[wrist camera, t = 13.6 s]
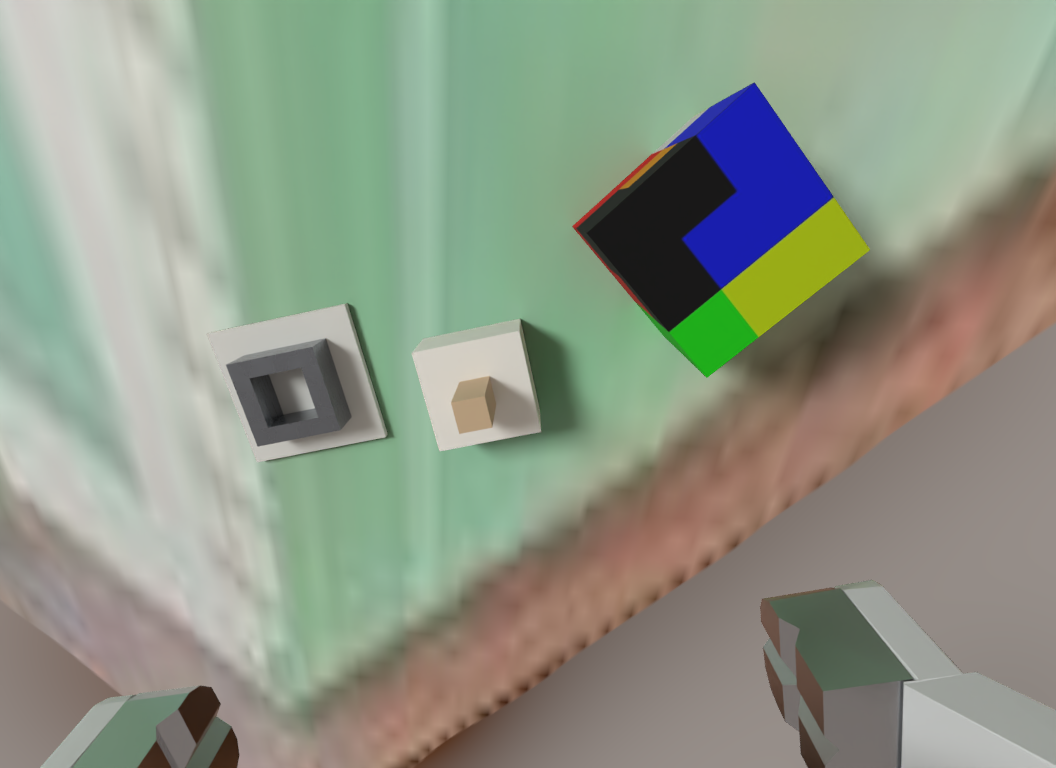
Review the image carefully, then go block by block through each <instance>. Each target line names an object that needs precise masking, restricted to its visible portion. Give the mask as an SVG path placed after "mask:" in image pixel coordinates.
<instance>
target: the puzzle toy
mask: <svg viewBox="0 0 1056 768" xmlns="http://www.w3.org/2000/svg"><path fill="white" fill-rule="evenodd" d="M572 227H573V228H574V229H575V230H576V232H577V233H578V234H579V235H580V236H581V238H582V239H583V240H584V241H585V242H586V244H587V245H588V246H589V247H590V248H591V250H592V251H593V252H594V253H595V254H596V256H597V257H598V258H599V259H600V260H601V262H602V263H603V264H604V265H605V266H606V267H607V269H608V270H609V271H610V272H611V273H612V275H613V276H614V277H615V278H616V279H617V281H618V282H619V283H620V284H621V285H622V287H623V288H624V289H625V290H626V291H627V293H628V294H629V295H630V296H631V297H632V299H633V300H634V301H635V302H636V303H637V305H638V306H639V307H640V308H641V309H642V311H643V312H644V313H645V314H646V315H647V317H648V318H649V319H650V320H651V321H652V322H653V324H654V325H655V326H656V327H657V328H658V330H659V331H660V332H661V333H662V334H663V336H664V337H665V338H666V339H667V340H668V341H669V342H670V343H671V344H672V345H674V346H675V347H676V348H677V349H678V350H679V351H680V352H681V353H682V354H683V355H684V356H685V357H686V358H687V359H688V360H689V361H690V362H691V363H692V364H693V365H694V366H695V367H696V368H697V369H698V370H699V371H700V372H701V373H702V374H703V375H704V376H705V377H709V376H710V375H711V374H712V373H714V372H715V371H716V370H717V369H719V368H720V367H721V366H723V365H724V364H725V363H726V362H728V361H729V360H730V359H732V358H733V357H734V356H735V355H737V354H738V353H739V352H740V351H742V350H743V349H744V348H746V347H747V346H748V345H749V344H751V343H752V342H753V341H755V340H756V339H757V338H758V337H760V336H761V335H762V334H763V333H765V332H766V331H767V330H769V329H770V328H771V327H772V326H774V325H775V324H776V323H777V322H779V321H780V320H781V319H783V318H784V317H785V316H786V315H788V314H789V313H790V312H792V311H793V310H794V309H795V308H797V307H798V306H799V305H800V304H802V303H803V302H804V301H806V300H807V299H808V298H809V297H811V296H812V295H813V294H815V293H816V292H817V291H818V290H820V289H821V288H822V287H823V286H825V285H826V284H827V283H829V282H830V281H831V280H832V279H834V278H835V277H836V276H838V275H839V274H840V273H841V272H843V271H844V270H845V269H846V268H848V267H849V266H850V265H852V264H853V263H854V262H855V261H857V260H858V259H859V258H860V257H862V256H863V255H864V254H866V253H867V252H868V251H869V250H870V249H869V247H868V246H867V245H866V243H865V242H864V240H863V239H862V237H861V236H860V234H859V233H858V231H857V230H856V229H855V227H854V226H853V224H852V223H851V221H850V220H849V218H848V217H847V216H846V214H845V213H844V211H843V210H842V208H841V207H840V205H839V204H838V203H837V201H836V200H835V198H834V197H833V195H832V194H831V192H830V191H829V189H828V188H827V187H826V185H825V184H824V182H823V181H822V179H821V178H820V176H819V175H818V174H817V172H816V171H815V169H814V168H813V166H812V165H811V163H810V162H809V161H808V159H807V158H806V156H805V155H804V153H803V152H802V150H801V149H800V147H799V146H798V145H797V143H796V142H795V140H794V139H793V137H792V136H791V134H790V133H789V132H788V130H787V129H786V127H785V126H784V124H783V123H782V121H781V120H780V119H779V117H778V116H777V114H776V113H775V111H774V110H773V108H772V107H771V105H770V104H769V103H768V101H767V100H766V98H765V97H764V95H763V94H762V92H761V91H760V90H759V88H758V87H757V85H756V84H755V82H754V83H752V84H751V85H749V86H747V87H745V88H743V89H742V90H740V91H738V92H736V93H735V94H733V95H731V96H729V97H727V98H726V99H724V100H722V101H720V102H718V103H717V104H715V105H713V106H711V107H709V108H708V109H706V110H704V111H702V112H701V113H699V114H697V115H695V116H694V117H692V118H691V119H690V120H689V121H688V122H687V123H686V124H685V125H684V126H683V127H681V128H680V129H679V130H678V131H677V132H676V133H675V134H674V135H673V136H672V137H670V138H669V139H668V140H667V141H666V142H665V143H664V144H663V145H662V146H660V147H659V148H658V149H657V150H656V151H655V152H654V153H653V154H652V155H651V156H649V157H648V158H647V159H646V160H645V161H644V162H643V163H642V164H641V165H640V166H638V167H637V168H636V169H635V170H634V171H633V172H632V173H631V174H630V175H629V176H627V177H626V178H625V179H624V180H623V181H622V182H621V183H620V184H619V185H618V186H616V187H615V188H614V189H613V190H612V191H611V192H610V193H609V194H608V195H607V196H605V197H604V198H603V199H602V200H601V201H600V202H599V203H598V204H597V205H595V206H594V207H593V208H592V209H591V210H590V211H589V212H588V213H587V214H586V215H584V216H583V217H582V218H581V219H580V220H579V221H578V222H577V223H576V224H575V225H573V226H572Z"/></svg>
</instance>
